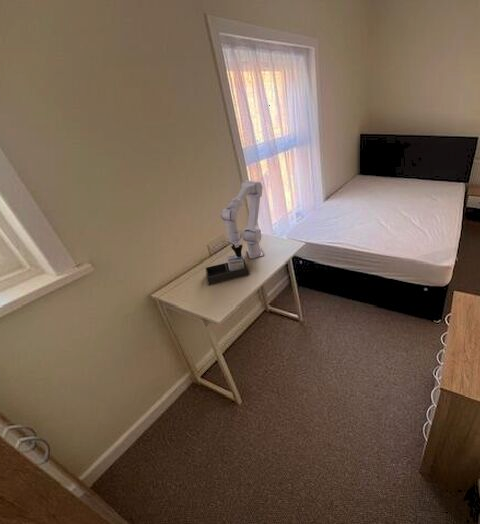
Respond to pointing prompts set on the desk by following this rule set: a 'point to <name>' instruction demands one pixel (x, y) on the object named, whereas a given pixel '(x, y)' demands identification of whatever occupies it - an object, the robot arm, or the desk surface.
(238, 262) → the medicine box
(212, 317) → the desk surface
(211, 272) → the organizer
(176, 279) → the desk surface
